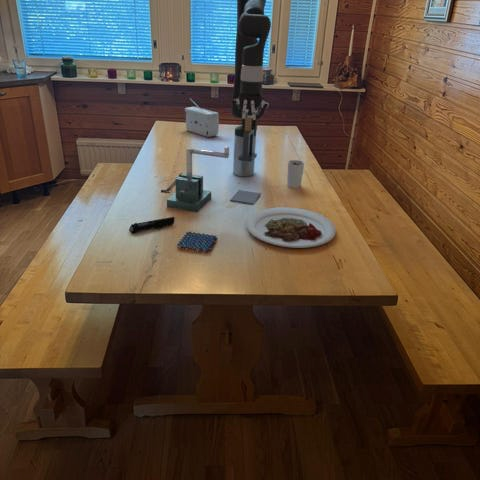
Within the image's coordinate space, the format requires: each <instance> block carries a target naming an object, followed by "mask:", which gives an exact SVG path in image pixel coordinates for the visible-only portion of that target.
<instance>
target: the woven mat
mask: <svg viewBox="0 0 480 480" xmlns="http://www.w3.org/2000/svg"><path fill="white" fill-rule="evenodd" d="M181 237H182V238H181V239H180V240H179V241H178V243H177V244H176V245H177V246H176V248H177V249H179V250H181V249H182V251H183V250H185V251H188V250H189V251H190V252H191V251H192V252H193V253H195V252H196V253H202V252H203V254H208V253H209V254H210V253H211V251H212V250H213V248H214V246H215V244H216V243H217V241H218V239H219V238H218V236H217V235H213V234H206V233H200V232H195V231H194V232H192V231H188V232H187V231H186V232H185V234H183V236H181ZM211 248H212V249H211ZM198 251H199V252H198Z"/></svg>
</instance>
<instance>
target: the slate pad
mask: <svg viewBox="0 0 480 480" xmlns="http://www.w3.org/2000/svg"><path fill="white" fill-rule="evenodd" d="M260 196H261V192H256V191H255V192H254V191H250V190H244V189H238V190H237V192H235V193H234V195H233V196H232V197H231V198H230V199H229V201H230V202H232V203H233V202H234V203H240V204H245V205H254V204H255V202H256V201H257V200H258V199H259V198H260Z"/></svg>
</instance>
